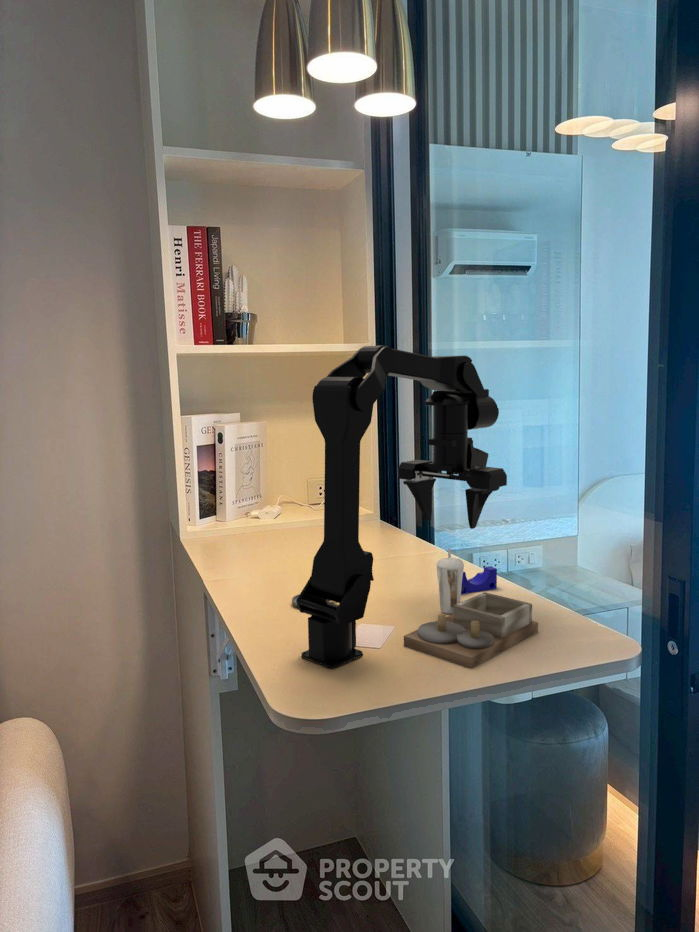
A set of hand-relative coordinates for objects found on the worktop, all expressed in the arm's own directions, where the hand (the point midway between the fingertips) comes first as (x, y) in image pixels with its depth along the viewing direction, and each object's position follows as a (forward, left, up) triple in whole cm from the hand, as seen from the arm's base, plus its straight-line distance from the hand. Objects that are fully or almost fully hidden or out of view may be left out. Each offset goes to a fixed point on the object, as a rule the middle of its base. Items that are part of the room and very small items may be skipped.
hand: (449, 524), depth 120 cm
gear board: (-9, -11, -14) cm, 20 cm away
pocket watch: (-14, +18, -15) cm, 27 cm away
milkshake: (-1, -1, -15) cm, 15 cm away
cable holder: (+11, +3, -15) cm, 19 cm away
